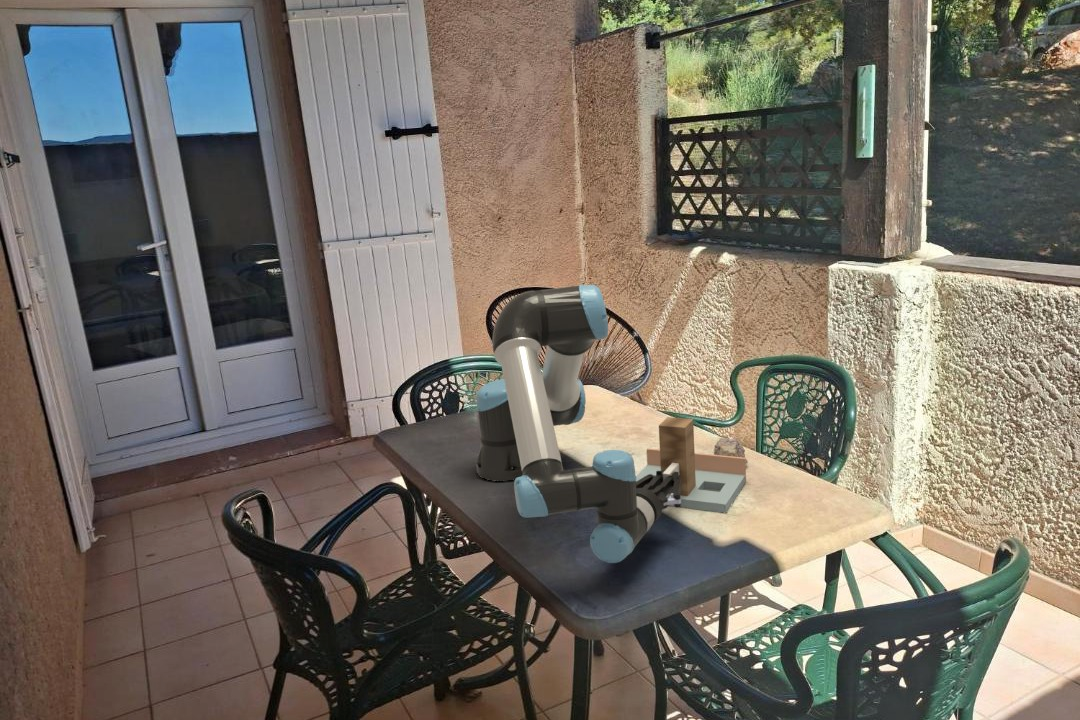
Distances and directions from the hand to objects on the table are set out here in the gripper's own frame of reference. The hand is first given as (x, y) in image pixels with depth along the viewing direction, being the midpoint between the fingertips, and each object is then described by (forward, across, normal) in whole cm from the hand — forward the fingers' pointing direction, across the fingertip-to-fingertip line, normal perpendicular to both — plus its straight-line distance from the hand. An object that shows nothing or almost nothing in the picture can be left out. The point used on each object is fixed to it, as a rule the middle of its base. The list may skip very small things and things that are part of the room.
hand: (675, 468), depth 180 cm
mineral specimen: (+25, +5, -9) cm, 27 cm away
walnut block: (+3, -1, -6) cm, 7 cm away
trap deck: (+7, -1, -8) cm, 11 cm away
